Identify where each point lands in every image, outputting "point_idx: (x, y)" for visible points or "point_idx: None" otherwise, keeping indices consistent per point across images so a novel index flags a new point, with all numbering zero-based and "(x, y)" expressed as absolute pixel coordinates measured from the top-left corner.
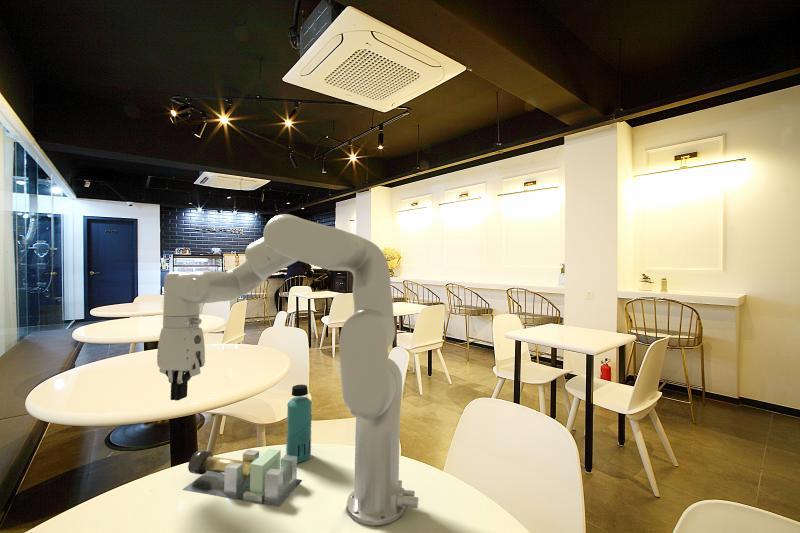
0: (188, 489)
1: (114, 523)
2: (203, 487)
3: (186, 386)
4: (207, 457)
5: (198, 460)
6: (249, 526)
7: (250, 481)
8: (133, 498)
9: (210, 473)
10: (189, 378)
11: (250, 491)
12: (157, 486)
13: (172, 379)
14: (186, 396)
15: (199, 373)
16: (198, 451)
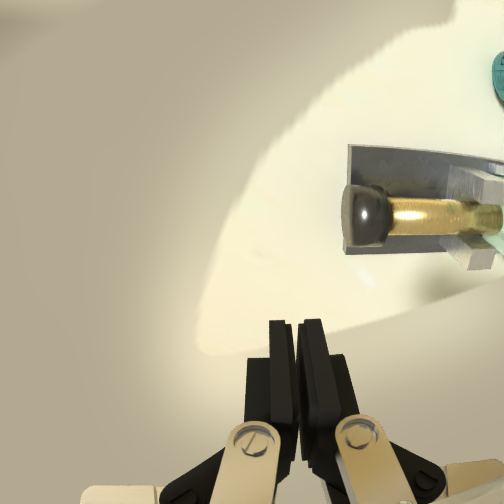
0: (359, 251)
1: None
2: (387, 236)
3: (354, 399)
4: (393, 225)
5: (379, 245)
6: (490, 281)
7: (498, 250)
8: (248, 284)
9: (365, 182)
10: (395, 450)
11: (488, 242)
12: (258, 238)
13: (276, 492)
14: (318, 319)
15: (498, 468)
16: (362, 226)
